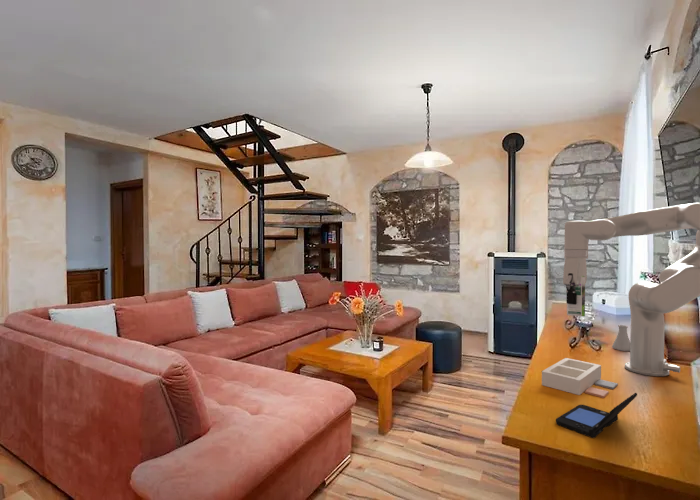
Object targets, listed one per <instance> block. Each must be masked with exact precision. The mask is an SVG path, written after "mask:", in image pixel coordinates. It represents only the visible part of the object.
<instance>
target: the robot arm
mask: <svg viewBox="0 0 700 500" xmlns="http://www.w3.org/2000/svg"><path fill="white" fill-rule="evenodd" d="M686 229H694V230H696V233H695V246H694V249H693V250H692V251H691V252H690V253H688V254H687V255H685V256H684V257H682V258H681V259H678V260H677V261H675V262H674V263H672V264H671V265H669V266H667V267H665V268H664V269H663V270H662V271H660V274H659V275H658V276H659V278H658V279H659V283H656V282H652V281H646V280H645V281H639V282H636V283H634V284H633V285H632V286H631V287H630V288H629V290H628V304H629V305H628V306H629V310H630V311H629V312H630V330H629V331H630V337H629V340H630V351H629V361H628V362H626V363H624V368H625V369H626V370H628V371H630V372H632V373H635V374H640V375H644V376H650V377H666V376H669V375H670V374H671V373H670V372H673V373H674V372H675V373H679V374H680V372H681V366H678V365H676V364H671V363H668V362H667V359H666V358H665V326H666V324H665V316H664V314H668V313H669V314H670V313H671V312H672V313H673V312H674V311H676V310H678V309H680V308H681V307H683V306H685V305H686V304H689V303H690V302H692V301H693V300H695V299H697V298H699V297H700V202H693V203H690V202H689V203H685V204H677V205H671V206H665V207H660V208H653V209H648V210H641V211H635V212H632V213H628V214H624V215H619V216H612V217H607V218H606V217H605V218H601V219H594V220H568V221H566V222H565V223H564V250H563V251H564V254H563V255H564V263H563V264H564V265H563V274H562V275H563V277H562V284H563V285H564V286H565V291H566V301H565V302H566V305H567V304H577V293H576V288H577V286H579V285H580V281H581V277H582V276H585V284H587V277H588V275H587V273H588V272H587V270H588V269H587V259H589V240H590V241H607V240H610V239H612V238H616V237H617V238H618V237H629V236H631V237H632V236H637V237H638V236H647V235H653V234H660V233H666V232H667V233H668V232H672V231H679V230H680V231H681V230H686ZM571 283H573V284H571ZM573 287H574V288H573Z"/></svg>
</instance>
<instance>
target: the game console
mask: <svg viewBox="0 0 700 500" xmlns="http://www.w3.org/2000/svg"><path fill="white" fill-rule="evenodd" d="M637 396H638V393H637V392H635V393H633V394H632V395H630V396H629V397H627V398H626V399H624V400H623V401H621V402H620V403H619V404H618V405H616V406H615V407H613V409H611V410H610V411H609V412H608V411H604V410H602V409H598V408H595V407H592V406H588V405H585V404H577V406H574V407H573V408H572V409H569V410H568V411H566V412H565V413H564V414H561V415H559V416H557V418H556V419H555V424H556V425H558V426H559V427H563V428H565V429H567V430H570V431H574V432H576V433H578V434H580V435H583V436H587V437H589V438H591V439H595V438H596V437H597V436H598V435H599V434H601V433H602V432H603V431H604V429H605V428H608V427H610V426H611V425H612V424H614V423H616V422H617V421H618V420H619V417H618V415H619V414H620V413H621V412H622V411H623V410H624V409H625V408H626V407H627V406H628V405H629V404H630V403H631V402H633V400H635V398H636V397H637Z"/></svg>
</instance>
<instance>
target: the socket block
mask: <svg viewBox="0 0 700 500" xmlns="http://www.w3.org/2000/svg"><path fill="white" fill-rule="evenodd" d="M593 385H594V386H597V387H602V388H606V389H610V390H614V389H616V387H618V382H613V381H609V380H604V379H602V365H601V364H598V363H594V362H588V361H582V360H578V359H573V358H568V357H564V358H563V359H561V360H559V361H557V362H556V363H554V364H552V365H550V366H548V367H547V368H545V369H543V370H542V371H541V386H544V387H548V388H552V389H556V390H558V391H563V392H567V393H570V394H573V395H577V396H581V394H583V393H584V394H587V395H591V396H595V397H599V398H602V399H604V398H605V397H607V395H608V394H609V393H610V392H609V391H608V390H606V389H602V388H601V389H600V388H597V387H593Z"/></svg>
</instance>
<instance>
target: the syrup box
mask: <svg viewBox="0 0 700 500" xmlns="http://www.w3.org/2000/svg"><path fill="white" fill-rule="evenodd" d="M571 284H573V283H571ZM573 288H574V287H573ZM576 293H577V304H567V303H566V315H567V316H571V317H572V316H574V317H575V316H576V317H583V318H584V317H586V283H585V276H582V277H581V281H580V285H579V286H577V288H576Z"/></svg>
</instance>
